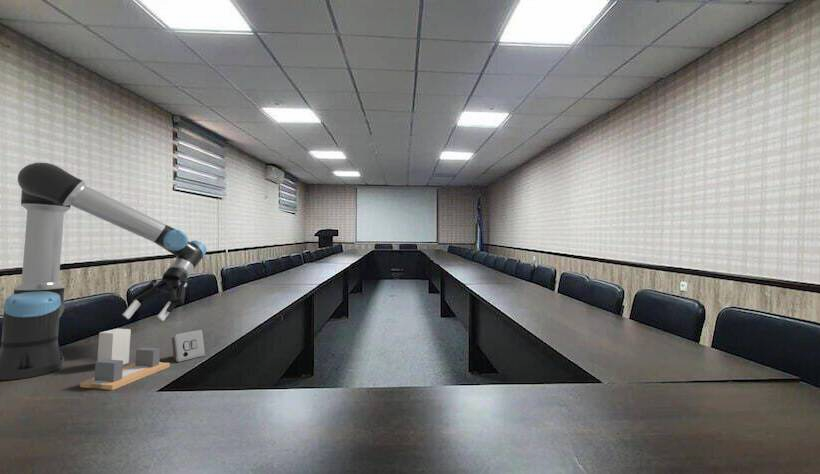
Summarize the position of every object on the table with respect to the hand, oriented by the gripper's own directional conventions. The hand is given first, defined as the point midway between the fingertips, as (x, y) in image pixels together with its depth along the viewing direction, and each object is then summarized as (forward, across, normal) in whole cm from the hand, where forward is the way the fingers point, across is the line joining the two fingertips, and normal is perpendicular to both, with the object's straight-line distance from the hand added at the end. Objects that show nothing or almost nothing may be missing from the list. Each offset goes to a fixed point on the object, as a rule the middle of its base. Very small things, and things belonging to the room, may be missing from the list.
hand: (142, 318), depth 122 cm
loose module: (+16, 0, -3) cm, 16 cm away
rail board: (+22, -13, +3) cm, 25 cm away
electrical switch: (+9, -17, -11) cm, 22 cm away
